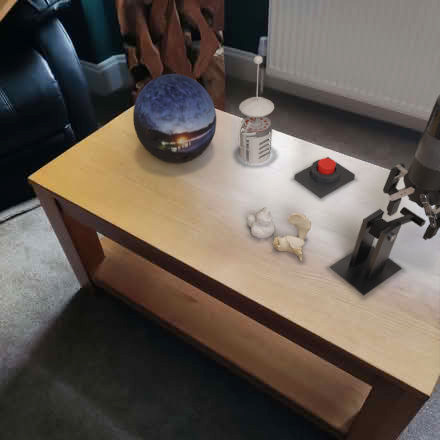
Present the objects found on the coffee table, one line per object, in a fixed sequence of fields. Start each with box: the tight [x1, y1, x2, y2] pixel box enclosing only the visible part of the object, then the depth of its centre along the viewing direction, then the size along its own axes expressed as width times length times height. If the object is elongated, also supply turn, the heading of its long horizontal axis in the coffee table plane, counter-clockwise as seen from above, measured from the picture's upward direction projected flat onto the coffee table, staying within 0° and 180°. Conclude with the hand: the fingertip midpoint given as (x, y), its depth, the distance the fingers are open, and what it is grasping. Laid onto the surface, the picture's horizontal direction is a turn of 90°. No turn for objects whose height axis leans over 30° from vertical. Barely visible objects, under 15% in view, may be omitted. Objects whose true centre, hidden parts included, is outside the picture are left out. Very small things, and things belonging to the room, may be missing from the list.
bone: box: [272, 212, 312, 262], centre depth 88 cm, size 9×6×10 cm
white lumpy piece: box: [246, 206, 276, 239], centre depth 91 cm, size 5×7×8 cm
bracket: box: [329, 208, 403, 297], centre depth 81 cm, size 11×9×14 cm
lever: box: [368, 206, 427, 240], centre depth 80 cm, size 13×5×2 cm, turn 126°
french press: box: [237, 55, 275, 165], centre depth 100 cm, size 10×12×25 cm
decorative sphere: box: [132, 73, 217, 164], centre depth 104 cm, size 20×20×20 cm
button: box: [317, 157, 336, 175], centre depth 100 cm, size 4×4×2 cm
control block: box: [293, 156, 356, 200], centre depth 102 cm, size 11×9×4 cm
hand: (408, 225), depth 85 cm, fingers open, 8 cm apart
